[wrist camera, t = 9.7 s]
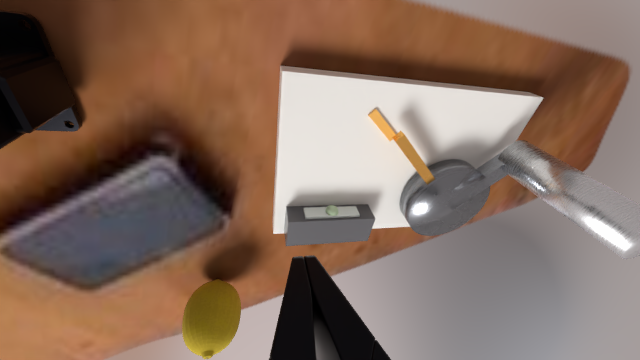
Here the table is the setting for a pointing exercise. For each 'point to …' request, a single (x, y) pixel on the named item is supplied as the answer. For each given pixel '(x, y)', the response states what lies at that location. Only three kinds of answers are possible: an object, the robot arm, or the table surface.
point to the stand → (375, 145)
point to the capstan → (533, 173)
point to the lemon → (211, 318)
